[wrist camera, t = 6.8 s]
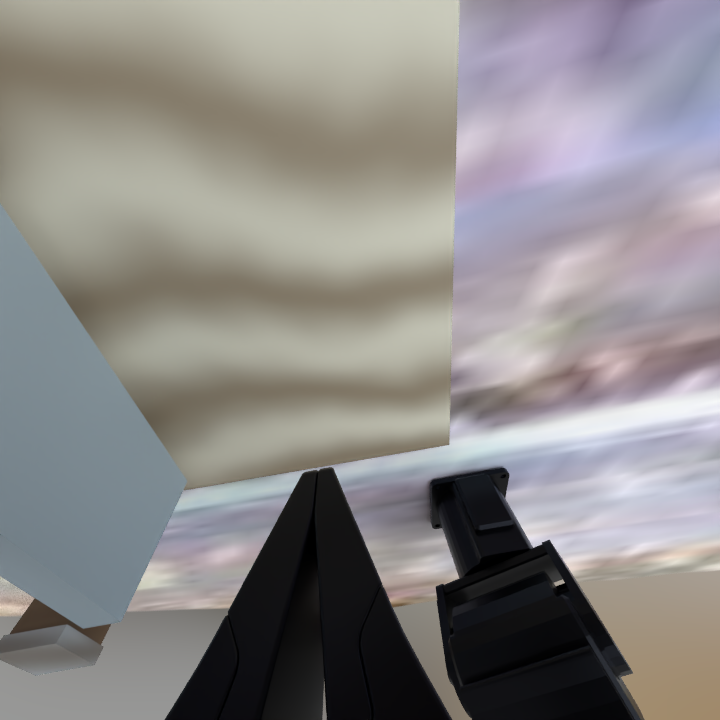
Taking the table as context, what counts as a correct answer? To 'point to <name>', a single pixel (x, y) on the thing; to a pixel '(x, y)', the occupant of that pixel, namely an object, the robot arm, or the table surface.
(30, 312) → the gate
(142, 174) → the base board
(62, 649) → the latch post
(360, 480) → the table surface
